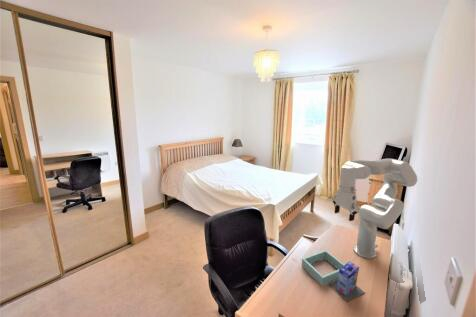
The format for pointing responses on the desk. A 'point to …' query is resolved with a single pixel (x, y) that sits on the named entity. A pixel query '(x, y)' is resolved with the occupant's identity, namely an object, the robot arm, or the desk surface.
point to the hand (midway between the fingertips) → (343, 216)
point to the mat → (349, 296)
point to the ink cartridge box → (347, 278)
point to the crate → (321, 279)
